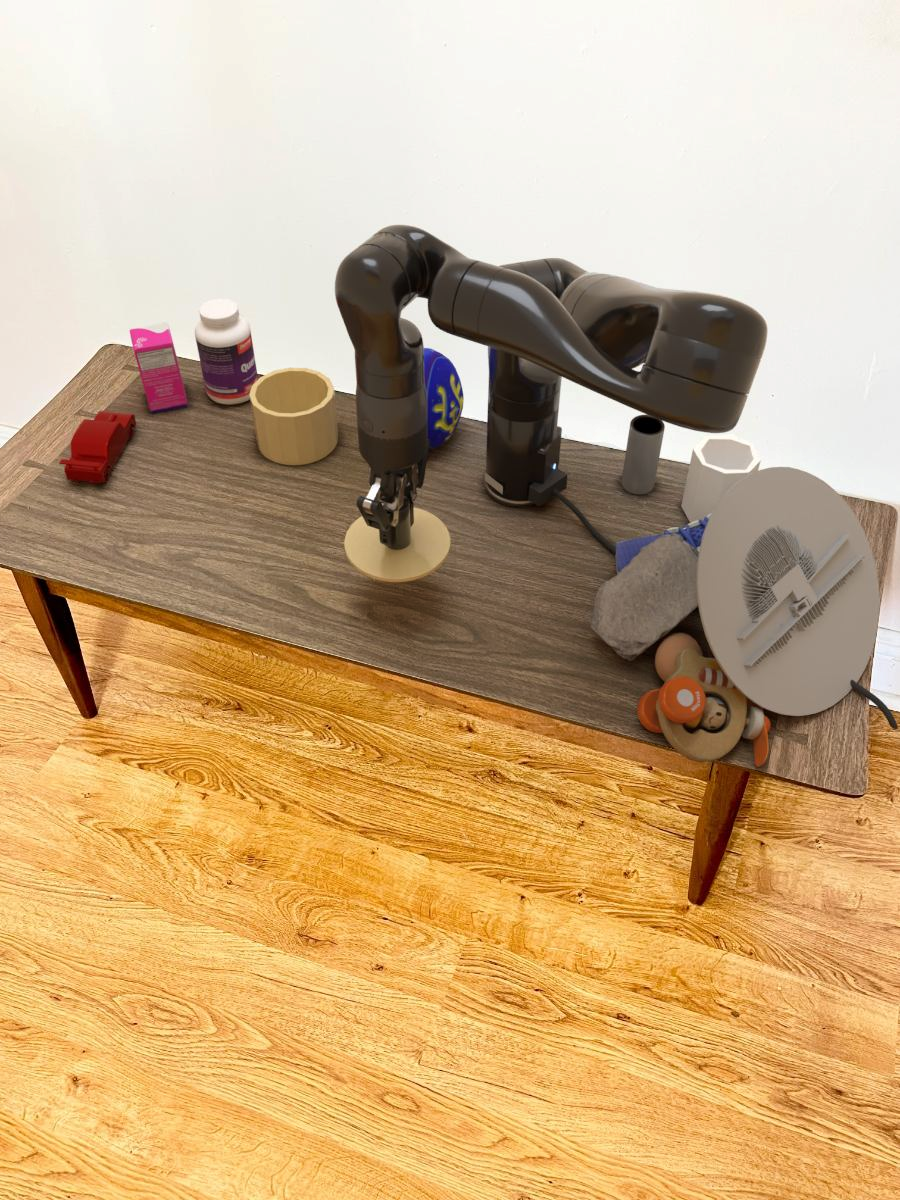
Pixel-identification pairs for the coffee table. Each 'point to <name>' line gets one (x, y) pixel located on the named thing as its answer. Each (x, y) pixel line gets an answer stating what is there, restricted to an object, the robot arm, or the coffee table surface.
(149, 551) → the coffee table surface
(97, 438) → the toy car
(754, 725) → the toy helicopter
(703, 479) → the mug
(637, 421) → the grey hollow tube
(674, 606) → the stone
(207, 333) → the pill bottle
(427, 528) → the lid
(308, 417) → the pot
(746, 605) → the plate
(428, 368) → the ornament
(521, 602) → the coffee table surface
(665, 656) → the egg
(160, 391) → the supplement box
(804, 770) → the coffee table surface
